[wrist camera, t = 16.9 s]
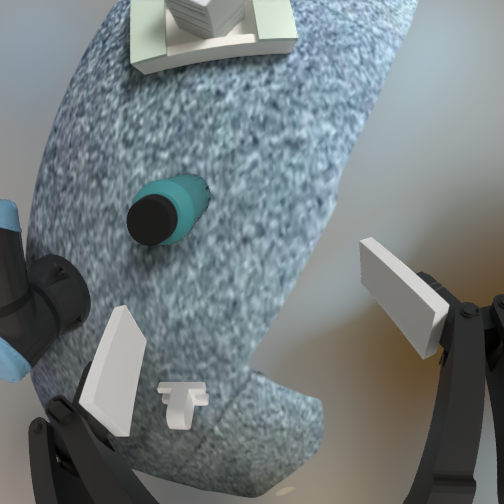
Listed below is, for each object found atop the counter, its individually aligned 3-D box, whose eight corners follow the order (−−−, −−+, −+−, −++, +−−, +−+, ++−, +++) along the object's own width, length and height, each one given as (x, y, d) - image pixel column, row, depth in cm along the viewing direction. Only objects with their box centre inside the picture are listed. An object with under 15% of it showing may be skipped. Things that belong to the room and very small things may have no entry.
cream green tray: (144, 75, 33) (130, 63, 28) (143, 8, 29) (131, -8, 23) (290, 53, 33) (297, 37, 27) (277, -12, 29) (281, -32, 23)
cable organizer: (209, 398, 52) (205, 435, 43) (165, 398, 52) (155, 432, 43) (204, 381, 51) (199, 419, 41) (158, 381, 51) (146, 416, 41)
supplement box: (207, -2, 29) (196, -47, 17) (246, 16, 30) (247, -30, 18) (177, 29, 30) (154, -12, 18) (216, 47, 32) (205, 6, 20)
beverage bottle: (162, 186, 39) (95, 210, 20) (200, 163, 38) (159, 165, 19) (183, 224, 41) (136, 276, 22) (222, 202, 40) (202, 239, 21)
